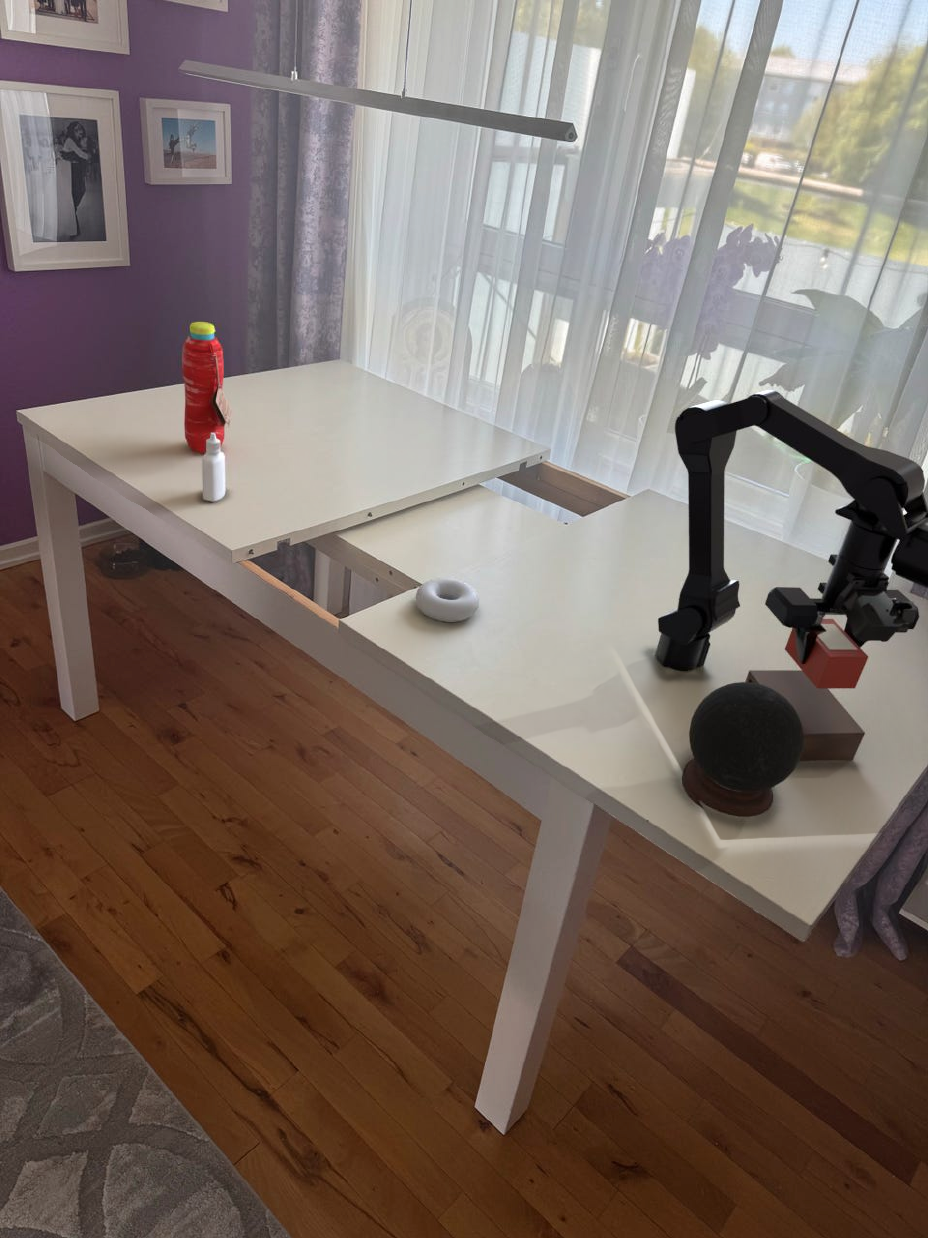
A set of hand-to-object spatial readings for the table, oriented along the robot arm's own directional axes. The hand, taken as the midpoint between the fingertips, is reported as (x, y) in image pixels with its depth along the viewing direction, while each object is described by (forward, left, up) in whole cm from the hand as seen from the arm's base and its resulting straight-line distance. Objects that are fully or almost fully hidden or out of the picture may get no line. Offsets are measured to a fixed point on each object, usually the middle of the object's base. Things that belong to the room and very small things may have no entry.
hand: (820, 662), depth 120 cm
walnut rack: (0, 0, -12) cm, 12 cm away
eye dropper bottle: (-81, +69, -12) cm, 107 cm away
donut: (-44, +31, -12) cm, 55 cm away
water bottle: (-83, +90, -12) cm, 123 cm away
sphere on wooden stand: (-15, -11, -12) cm, 22 cm away
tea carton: (0, 0, -1) cm, 1 cm away
